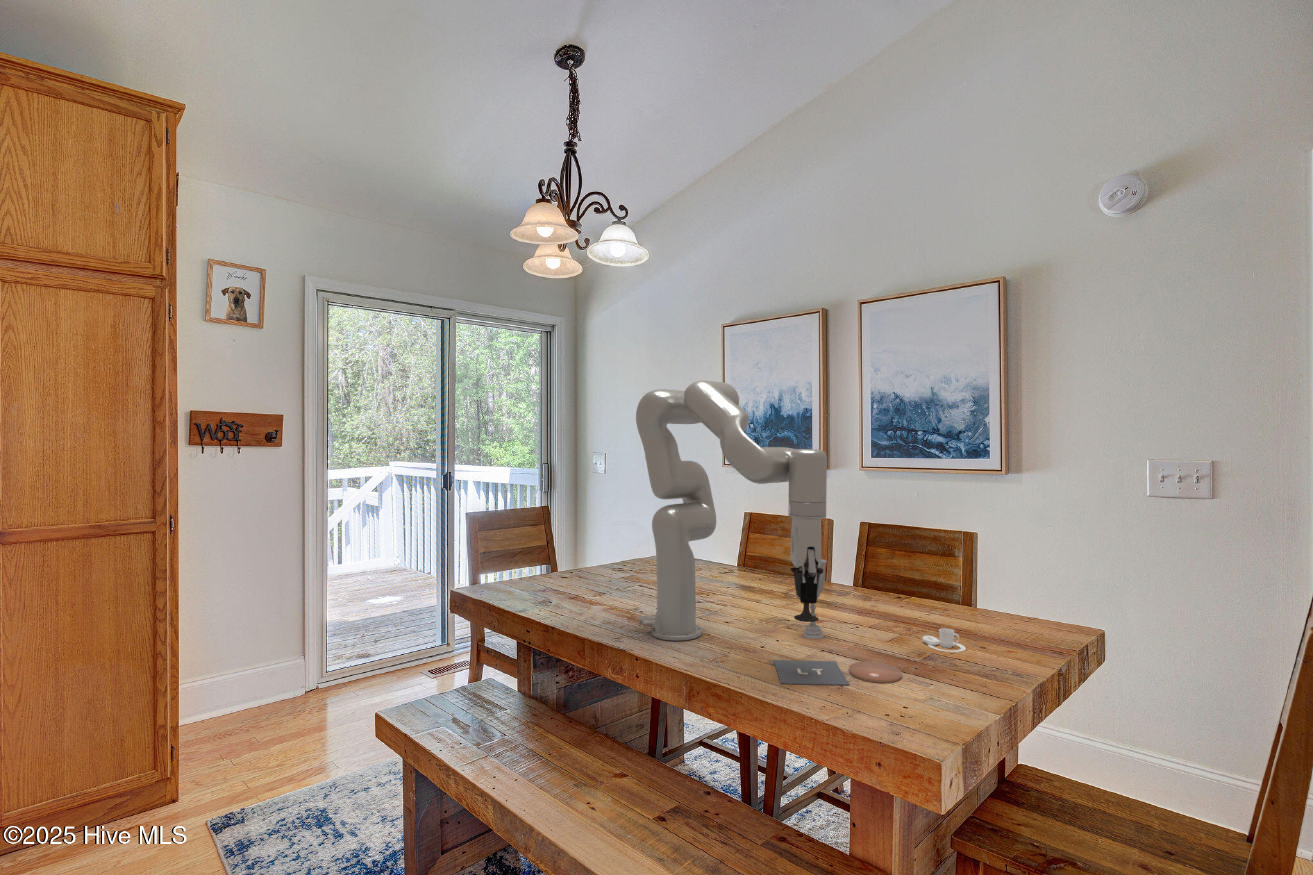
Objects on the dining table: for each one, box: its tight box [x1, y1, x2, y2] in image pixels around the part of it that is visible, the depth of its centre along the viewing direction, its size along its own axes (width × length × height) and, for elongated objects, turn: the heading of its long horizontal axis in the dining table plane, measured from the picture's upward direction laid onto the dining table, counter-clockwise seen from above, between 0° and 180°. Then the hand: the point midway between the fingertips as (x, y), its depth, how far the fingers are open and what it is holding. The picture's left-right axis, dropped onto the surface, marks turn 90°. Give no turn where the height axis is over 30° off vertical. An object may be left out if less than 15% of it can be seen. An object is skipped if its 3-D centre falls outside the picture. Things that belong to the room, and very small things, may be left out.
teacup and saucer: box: [922, 627, 967, 653], centre depth 145 cm, size 9×8×4 cm
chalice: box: [802, 558, 828, 640], centre depth 153 cm, size 7×7×18 cm
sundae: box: [790, 563, 824, 623], centre depth 129 cm, size 7×7×15 cm
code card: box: [773, 659, 851, 686], centre depth 129 cm, size 13×13×1 cm
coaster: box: [848, 660, 903, 684], centre depth 128 cm, size 10×10×1 cm
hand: (806, 598), depth 129 cm, fingers closed on sundae, 4 cm apart
